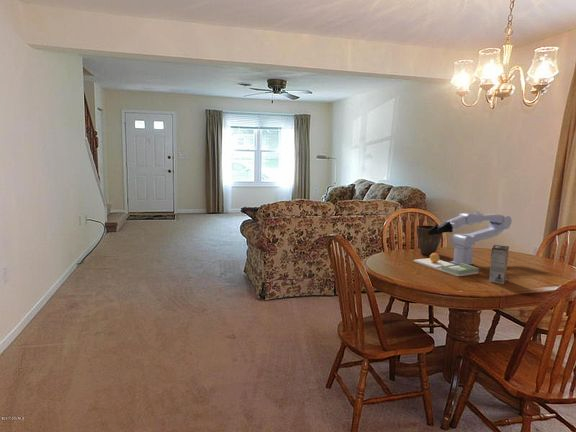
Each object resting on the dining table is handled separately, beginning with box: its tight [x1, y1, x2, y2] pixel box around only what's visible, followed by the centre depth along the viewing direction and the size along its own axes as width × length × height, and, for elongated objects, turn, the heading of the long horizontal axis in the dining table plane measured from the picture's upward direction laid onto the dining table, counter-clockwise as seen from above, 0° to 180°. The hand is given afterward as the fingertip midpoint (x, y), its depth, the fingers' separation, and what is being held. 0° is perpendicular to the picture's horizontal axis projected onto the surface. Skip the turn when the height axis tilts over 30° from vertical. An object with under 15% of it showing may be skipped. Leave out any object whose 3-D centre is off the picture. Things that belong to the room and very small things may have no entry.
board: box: [413, 257, 480, 277], centre depth 206 cm, size 14×30×3 cm, turn 25°
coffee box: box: [488, 244, 510, 285], centre depth 183 cm, size 9×6×16 cm
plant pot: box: [416, 224, 443, 256], centre depth 235 cm, size 15×15×16 cm
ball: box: [429, 252, 441, 262], centre depth 212 cm, size 5×5×5 cm
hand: (433, 232), depth 205 cm, fingers open, 7 cm apart
